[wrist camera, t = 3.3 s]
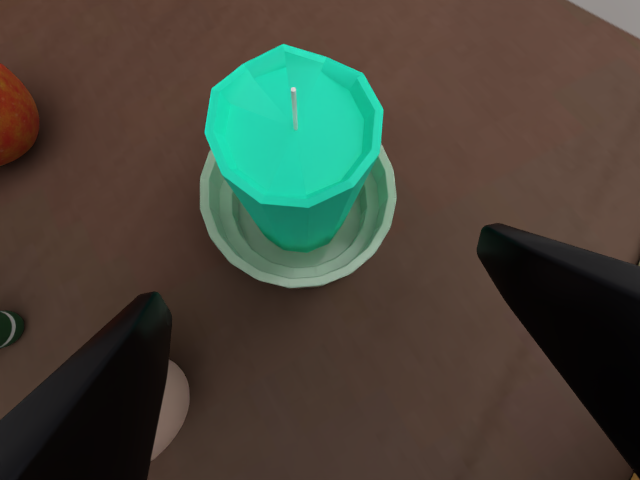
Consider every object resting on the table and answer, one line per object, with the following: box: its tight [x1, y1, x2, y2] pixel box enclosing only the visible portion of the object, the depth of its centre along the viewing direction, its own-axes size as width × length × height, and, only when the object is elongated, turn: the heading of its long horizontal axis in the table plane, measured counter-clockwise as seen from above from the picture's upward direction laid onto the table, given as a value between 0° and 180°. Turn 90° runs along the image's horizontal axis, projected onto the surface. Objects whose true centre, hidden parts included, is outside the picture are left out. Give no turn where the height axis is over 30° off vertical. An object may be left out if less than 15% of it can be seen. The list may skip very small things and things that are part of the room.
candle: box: [204, 44, 383, 253], centre depth 14 cm, size 6×6×12 cm
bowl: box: [200, 144, 397, 289], centre depth 18 cm, size 11×11×4 cm
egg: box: [151, 360, 190, 461], centre depth 15 cm, size 5×5×7 cm
